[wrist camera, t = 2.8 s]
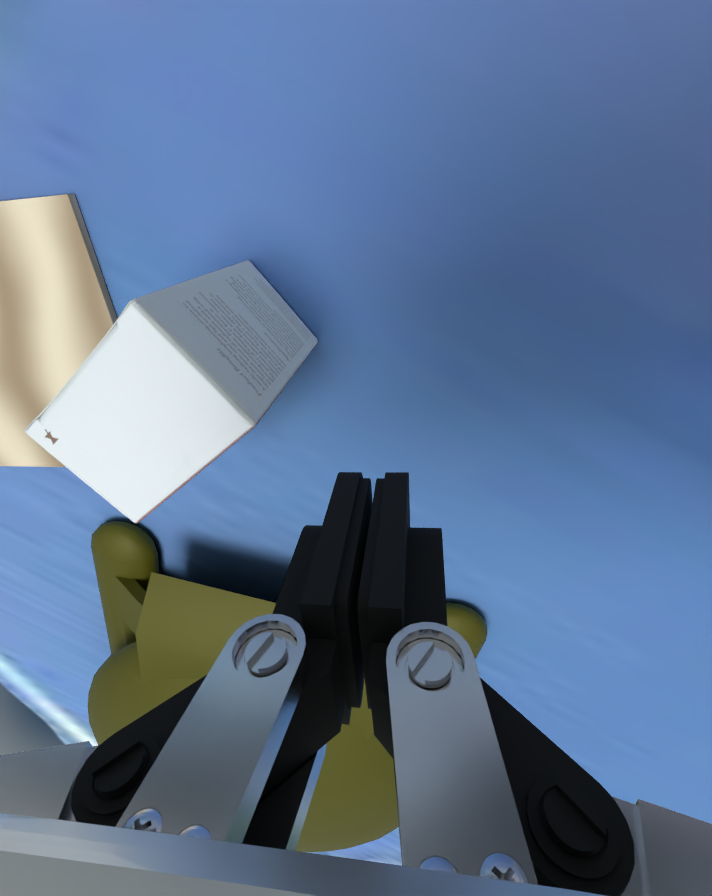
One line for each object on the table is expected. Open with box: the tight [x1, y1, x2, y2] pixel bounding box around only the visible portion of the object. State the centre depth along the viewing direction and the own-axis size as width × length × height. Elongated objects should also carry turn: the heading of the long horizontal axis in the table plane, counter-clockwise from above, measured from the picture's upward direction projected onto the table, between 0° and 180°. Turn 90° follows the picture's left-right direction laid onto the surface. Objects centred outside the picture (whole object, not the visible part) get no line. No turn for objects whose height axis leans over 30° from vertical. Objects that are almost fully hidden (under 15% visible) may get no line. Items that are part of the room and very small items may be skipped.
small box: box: [25, 260, 318, 523], centre depth 20 cm, size 8×6×10 cm
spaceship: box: [88, 521, 487, 852], centre depth 38 cm, size 35×31×10 cm
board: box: [0, 194, 117, 467], centre depth 27 cm, size 14×16×1 cm
